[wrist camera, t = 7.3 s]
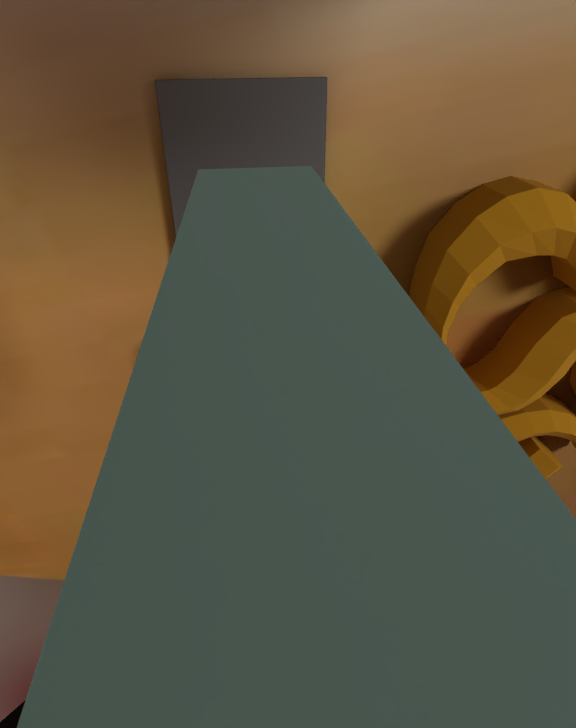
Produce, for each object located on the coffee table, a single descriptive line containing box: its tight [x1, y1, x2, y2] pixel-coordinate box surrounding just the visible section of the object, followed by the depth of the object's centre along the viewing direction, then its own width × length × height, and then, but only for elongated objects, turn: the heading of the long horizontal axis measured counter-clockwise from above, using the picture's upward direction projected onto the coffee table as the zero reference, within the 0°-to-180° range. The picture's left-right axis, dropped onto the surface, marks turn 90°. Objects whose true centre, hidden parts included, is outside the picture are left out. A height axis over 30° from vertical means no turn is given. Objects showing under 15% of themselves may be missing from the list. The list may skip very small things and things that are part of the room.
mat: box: [155, 77, 327, 236], centre depth 32 cm, size 14×10×1 cm
